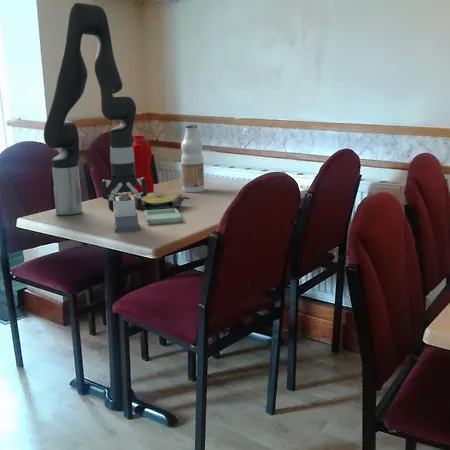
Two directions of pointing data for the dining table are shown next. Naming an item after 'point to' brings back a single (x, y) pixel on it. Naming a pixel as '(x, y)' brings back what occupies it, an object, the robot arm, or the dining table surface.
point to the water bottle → (142, 163)
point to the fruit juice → (192, 161)
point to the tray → (162, 216)
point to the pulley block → (158, 200)
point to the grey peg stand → (126, 220)
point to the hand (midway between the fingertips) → (125, 210)
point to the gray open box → (125, 207)
